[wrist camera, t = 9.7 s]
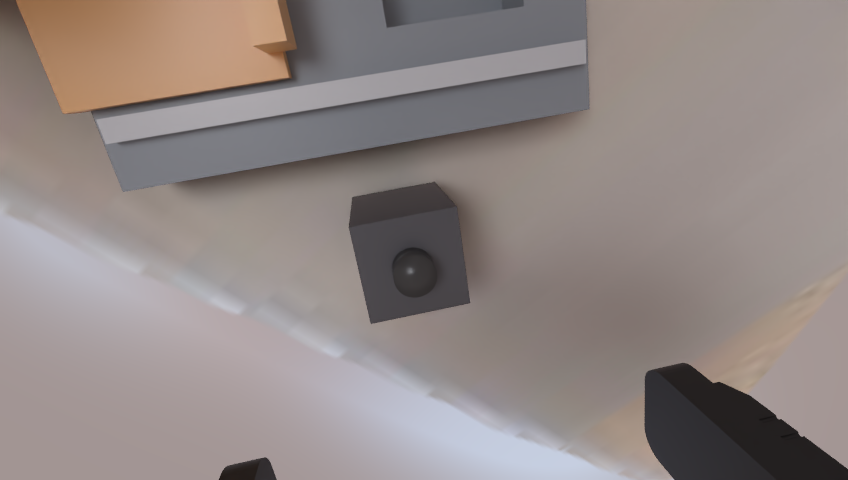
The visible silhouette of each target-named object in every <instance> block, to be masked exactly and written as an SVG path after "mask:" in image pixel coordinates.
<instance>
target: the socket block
mask: <svg viewBox="0 0 848 480" xmlns="http://www.w3.org/2000/svg"><path fill="white" fill-rule="evenodd" d="M286 3H287V8H288V12H289V16H290V20H291V25H292V29H293V33H294V37H295V42H296V46H297V49H295V50H289V51H285V52H286V56H287V60H288V64H289V68H290V72H291V76H292V78H291V79H285V80H279V81H273V82H267V83H261V84H254V85H248V86H242V87H236V88H230V89H224V90H217V91H211V92H205V93H199V94H193V95H187V96H180V97H174V98H168V99H162V100H156V101H150V102H143V103H137V104H131V105H125V106H119V107H113V108H107V109H100V110H94V111H91V113H92V115H93V118H94V120H95V123H96V125H97V128H98V130H99V133H100V135H101V138H102V140H103V143H104V145H105V148H106V150H107V153H108V155H109V158H110V160H111V163H112V165H113V168H114V170H115V173H116V175H117V178H118V181H119V183H120V186H121V188H122V191H123V192H125V191H131V190H137V189H142V188H148V187H154V186H159V185H165V184H170V183H176V182H182V181H187V180H193V179H199V178H204V177H210V176H215V175H221V174H227V173H232V172H238V171H244V170H249V169H255V168H261V167H266V166H272V165H277V164H283V163H289V162H294V161H300V160H306V159H311V158H317V157H323V156H328V155H334V154H339V153H345V152H351V151H356V150H362V149H368V148H373V147H379V146H385V145H390V144H396V143H401V142H407V141H413V140H418V139H424V138H430V137H435V136H441V135H447V134H452V133H458V132H463V131H469V130H475V129H480V128H486V127H492V126H497V125H503V124H509V123H514V122H520V121H525V120H531V119H537V118H542V117H548V116H554V115H559V114H565V113H570V112H576V111H582V110H587V109H589V80H588V48H587V17H586V0H286Z"/></svg>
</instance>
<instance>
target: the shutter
mask: <svg viewBox="0 0 848 480" xmlns="http://www.w3.org/2000/svg"><path fill="white" fill-rule="evenodd" d="M16 2H17V5H18V7H19V10H20V12H21V14H22V17H23V19H24V22H25V24H26V26H27V29H28V31H29V33H30V36H31V38H32V41H33V43H34V45H35V48H36V50H37V53H38V55H39V57H40V60H41V62H42V65H43V67H44V69H45V72H46V74H47V76H48V79H49V81H50V84H51V86H52V88H53V91H54V93H55V96H56V98H57V100H58V103H59V105H60V108H61V110H62V112H63V114H75V113H82V112H88V111H94V110H100V109H107V108H113V107H119V106H125V105H131V104H137V103H143V102H150V101H156V100H162V99H168V98H174V97H180V96H187V95H193V94H199V93H205V92H211V91H217V90H224V89H230V88H236V87H242V86H248V85H254V84H261V83H267V82H273V81H279V80H285V79H291V78H292V76H291V72H290V68H289V64H288V60H287V56H286V52H285V51H289V50H295V49H297V46H296V42H295V37H294V33H293V29H292V25H291V20H290V16H289V12H288V8H287V3H286V0H16Z"/></svg>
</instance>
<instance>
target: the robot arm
mask: <svg viewBox="0 0 848 480" xmlns="http://www.w3.org/2000/svg"><path fill="white" fill-rule="evenodd" d="M645 433H646V437H647V440H648V443H649V445H650V447H651V449H652V451H653V453H654V455H655V456H656V458H657V459H658V460H659V462H660V463H661V464H662V465H663V466H664V468H665V469H666V470H667V471H668V472H669V474H670V475H671V476H672V477H673V479H674V480H848V469H847V468H845V467H844V466H843V465H841V464H840V463H839V462H838V461H836V460H835V459H834V458H832V457H831V456H830V455H828V454H827V453H826V452H824V451H823V450H821V449H820V448H819V447H817V446H816V445H815V444H813V443H812V442H811V441H809V440H808V439H807V438H805V437H801V436H800V435H799V434H798V431H796V430H795V429H794V428H792V427H791V426H790V425H788V424H787V423H786V422H784V421H783V420H782V419H780V420H778V419H777V417H776V415H775V414H774V413H772V412H771V411H770V410H768V409H767V408H766V407H764V406H763V405H761V404H760V403H759V402H758V401H756V400H755V399H754V398H752V397H751V396H749V395H747V394H745V393H743V392H741V391H738V390H736V389H734V388H732V387H730V386H727V385H725V384H723V383H721V382H717V383H712V382H711V381H710V380H708V379H707V378H706V377H705V376H703V375H702V374H701V373H700V372H698V371H697V370H696V369H695V368H693V367H692V366H690V365H688V364H686V363H680V364H676V365H671V366H667V367H663V368H658V369H654V370H650V371H648V372H647V373H646V376H645ZM219 480H276V477H275V474H274V471H273V469H272V466H271V463H270V461H269V460H268V459H267V458H260V459H256V460H251V461H247V462H243V463H238V464H234V465H230V466H227V467H225V468H224V470H223V471H222V473H221V476H220V478H219Z"/></svg>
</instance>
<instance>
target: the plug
mask: <svg viewBox="0 0 848 480" xmlns="http://www.w3.org/2000/svg"><path fill="white" fill-rule="evenodd" d="M349 230H350V234H351V239H352V243H353V248H354V252H355V256H356V261H357V265H358V269H359V274H360V278H361V283H362V287H363V291H364V296H365V300H366V305H367V309H368V313H369V318H370V322H371V324H373V323H377V322H382V321H387V320H392V319H396V318H401V317H406V316H411V315H415V314H420V313H425V312H430V311H434V310H439V309H444V308H449V307H454V306H458V305H463V304H468V303H470V298H469V291H468V284H467V276H466V269H465V262H464V255H463V248H462V240H461V233H460V226H459V219H458V212H457V206H456V205H455V204H454V203H453V202H452V201H451V200H450V199H449V197H448V196H447V195H446V194H445V193H444V192H443V191H442V190H441V189H440V188H439V186H438V185H437V184H436V183H435V182H432V183H426V184H421V185H416V186H410V187H405V188H399V189H394V190H389V191H383V192H378V193H373V194H367V195H362V196H356V197H352V205H351V214H350V222H349Z"/></svg>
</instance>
